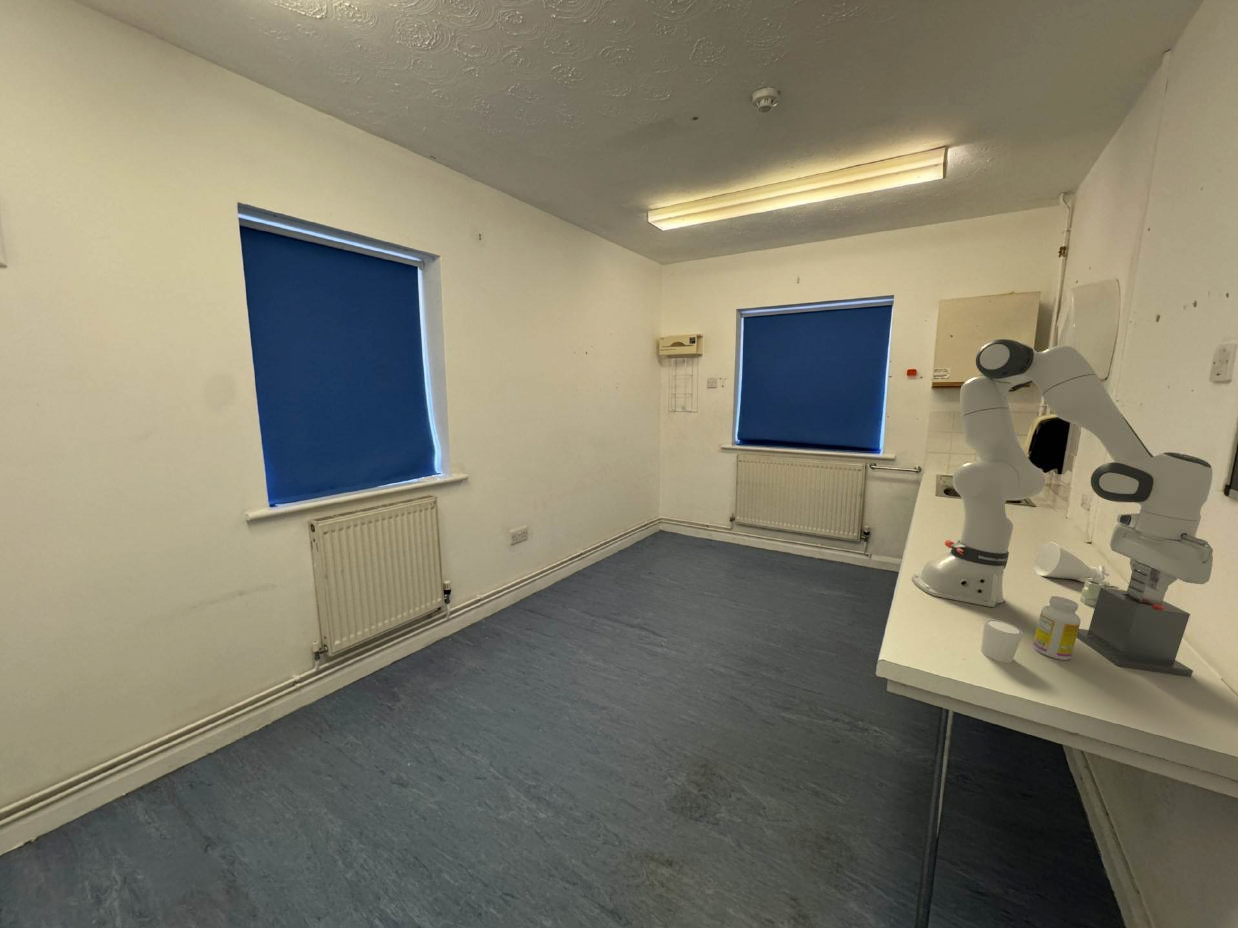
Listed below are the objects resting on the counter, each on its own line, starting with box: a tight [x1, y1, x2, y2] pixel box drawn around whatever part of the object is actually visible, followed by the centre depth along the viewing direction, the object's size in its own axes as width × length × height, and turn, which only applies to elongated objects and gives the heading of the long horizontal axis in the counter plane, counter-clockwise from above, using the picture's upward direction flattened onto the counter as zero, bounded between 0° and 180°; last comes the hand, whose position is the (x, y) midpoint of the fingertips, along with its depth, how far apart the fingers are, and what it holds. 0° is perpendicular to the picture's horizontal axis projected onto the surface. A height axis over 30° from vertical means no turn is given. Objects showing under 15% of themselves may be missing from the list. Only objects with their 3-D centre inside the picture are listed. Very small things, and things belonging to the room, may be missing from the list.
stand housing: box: [1076, 587, 1194, 678], centre depth 111 cm, size 14×14×14 cm
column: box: [1126, 562, 1167, 605], centre depth 110 cm, size 4×4×20 cm
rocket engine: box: [1033, 541, 1111, 588], centre depth 156 cm, size 12×12×18 cm
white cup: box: [980, 618, 1024, 664], centre depth 107 cm, size 7×7×7 cm
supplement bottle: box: [1032, 595, 1081, 661], centre depth 109 cm, size 7×7×13 cm
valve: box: [1079, 580, 1105, 608], centre depth 135 cm, size 7×7×12 cm
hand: (1147, 585), depth 109 cm, fingers closed on column, 4 cm apart
